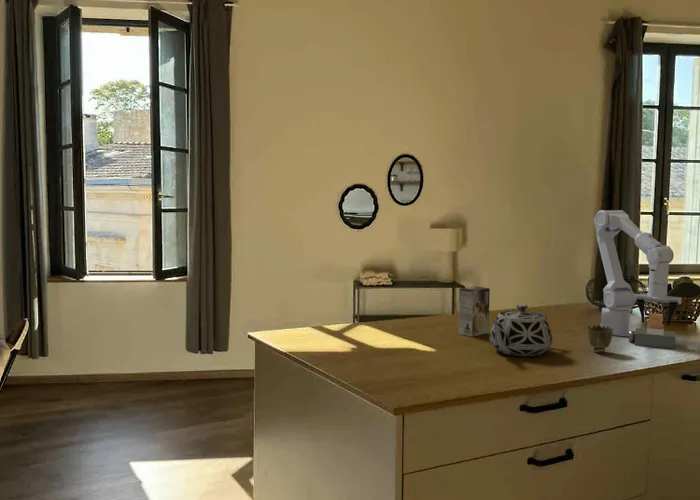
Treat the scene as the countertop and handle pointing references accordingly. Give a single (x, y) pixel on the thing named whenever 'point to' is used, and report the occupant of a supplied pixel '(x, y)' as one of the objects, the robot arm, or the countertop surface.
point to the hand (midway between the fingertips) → (655, 323)
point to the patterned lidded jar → (521, 333)
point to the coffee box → (474, 311)
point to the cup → (599, 337)
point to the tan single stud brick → (655, 320)
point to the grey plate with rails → (653, 337)
